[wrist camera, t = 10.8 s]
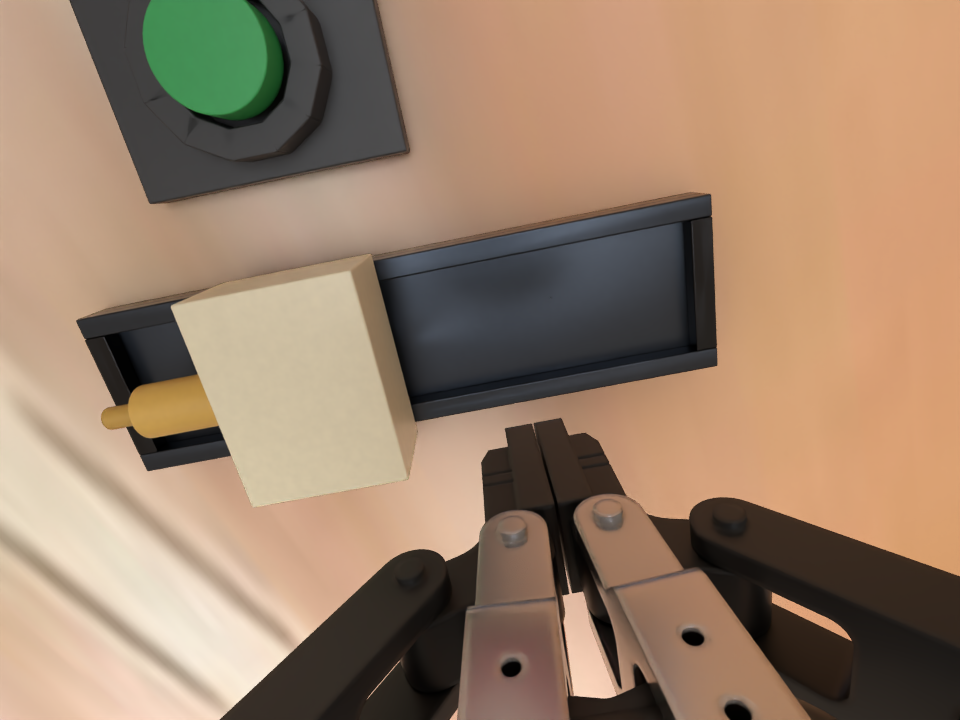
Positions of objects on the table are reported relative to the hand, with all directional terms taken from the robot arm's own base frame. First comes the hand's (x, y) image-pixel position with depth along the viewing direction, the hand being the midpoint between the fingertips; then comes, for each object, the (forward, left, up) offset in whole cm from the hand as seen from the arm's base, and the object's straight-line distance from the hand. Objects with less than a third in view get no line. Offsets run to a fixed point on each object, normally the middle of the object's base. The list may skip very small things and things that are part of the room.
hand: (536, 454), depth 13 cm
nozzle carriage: (-12, 0, -13) cm, 17 cm away
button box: (-9, +13, -14) cm, 21 cm away
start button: (-9, +13, -11) cm, 19 cm away
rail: (-5, 0, -14) cm, 15 cm away
